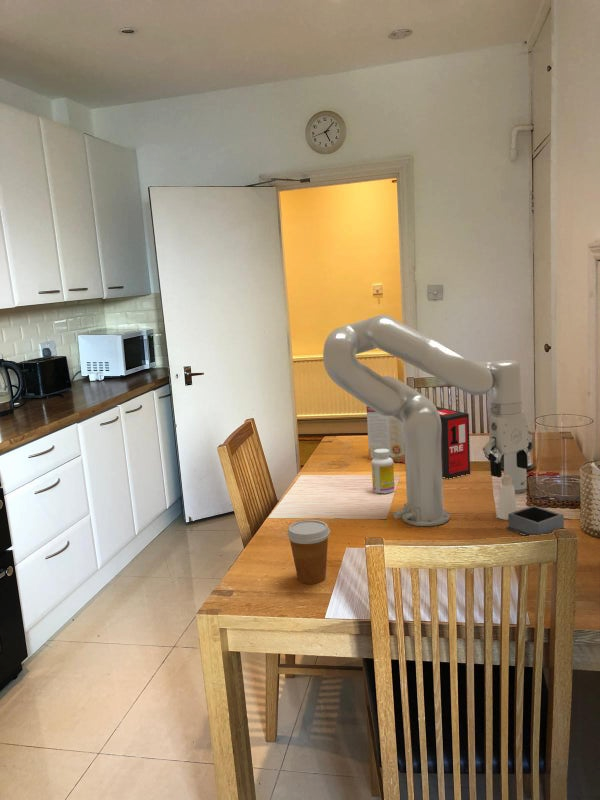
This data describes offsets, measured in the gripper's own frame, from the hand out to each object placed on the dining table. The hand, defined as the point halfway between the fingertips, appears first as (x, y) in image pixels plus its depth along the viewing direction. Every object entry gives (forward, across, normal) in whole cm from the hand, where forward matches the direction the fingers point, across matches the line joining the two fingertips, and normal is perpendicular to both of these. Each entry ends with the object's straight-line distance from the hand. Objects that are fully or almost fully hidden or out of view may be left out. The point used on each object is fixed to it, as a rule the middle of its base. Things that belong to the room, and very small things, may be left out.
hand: (509, 472), depth 174 cm
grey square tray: (+12, -3, -10) cm, 16 cm away
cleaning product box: (+12, +15, +43) cm, 47 cm away
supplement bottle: (+12, -12, +40) cm, 43 cm away
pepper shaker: (+12, -1, +1) cm, 12 cm away
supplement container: (+13, +34, +29) cm, 46 cm away
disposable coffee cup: (+11, -61, +3) cm, 62 cm away
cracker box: (+12, +11, +66) cm, 68 cm away
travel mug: (+13, +17, +14) cm, 25 cm away
